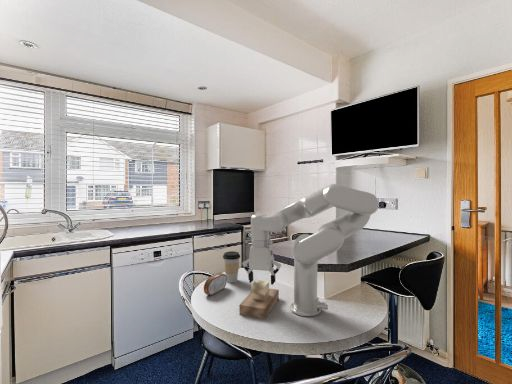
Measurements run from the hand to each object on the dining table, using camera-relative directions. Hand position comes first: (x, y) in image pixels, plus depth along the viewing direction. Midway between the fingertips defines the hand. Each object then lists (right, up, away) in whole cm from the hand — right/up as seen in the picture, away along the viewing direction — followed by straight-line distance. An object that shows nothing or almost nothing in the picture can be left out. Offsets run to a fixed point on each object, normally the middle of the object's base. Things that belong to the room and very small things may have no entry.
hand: (262, 282), depth 122 cm
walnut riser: (-1, -10, +1) cm, 10 cm away
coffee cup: (-16, -9, +30) cm, 35 cm away
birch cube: (-1, -6, +1) cm, 6 cm away
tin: (-22, -10, +16) cm, 29 cm away
